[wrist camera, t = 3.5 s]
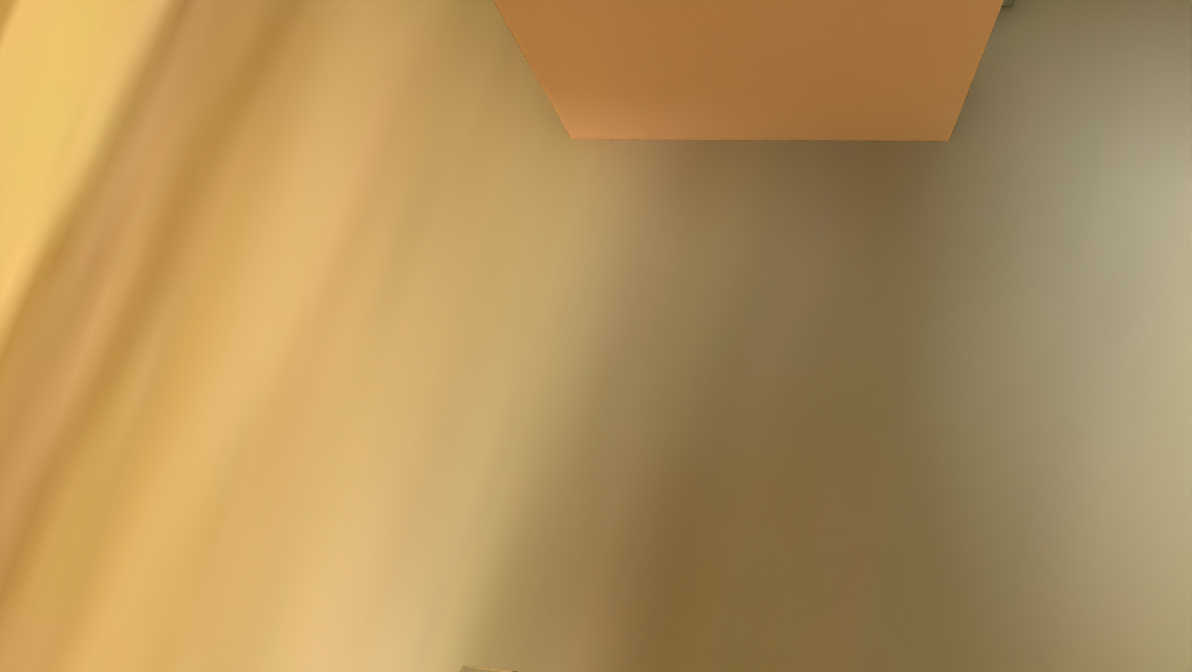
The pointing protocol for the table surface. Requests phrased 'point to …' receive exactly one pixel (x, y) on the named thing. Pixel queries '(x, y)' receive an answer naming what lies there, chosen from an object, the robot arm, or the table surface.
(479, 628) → the table surface
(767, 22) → the tile
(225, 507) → the table surface
